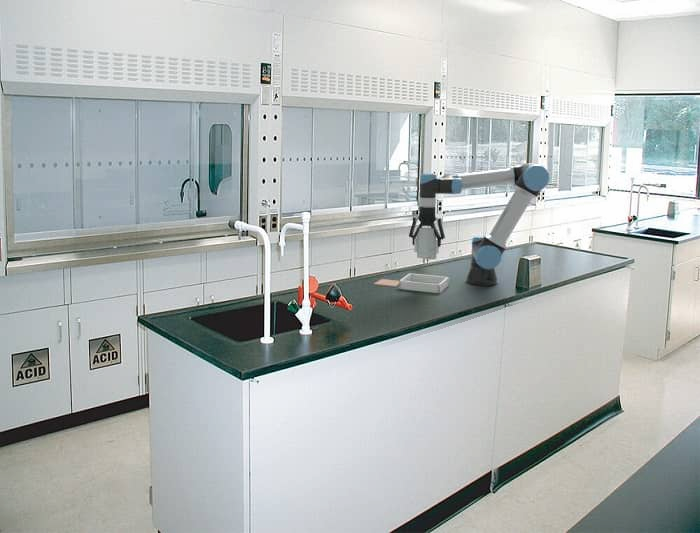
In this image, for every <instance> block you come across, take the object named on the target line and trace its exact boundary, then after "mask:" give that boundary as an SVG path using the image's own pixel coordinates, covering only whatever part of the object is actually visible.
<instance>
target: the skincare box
mask: <svg viewBox="0 0 700 533" xmlns="http://www.w3.org/2000/svg"><path fill="white" fill-rule="evenodd" d="M435 229H437V227H436V228H435ZM416 238H417V252H416V258H418V259H423V260H425V261H426V260H428V261H429V260H435V259H437V254H436V240H437V237H436V235H435V233H434V229H433V228H431V226H422V228H420V229H419V232H418V234H417V236H416Z"/></svg>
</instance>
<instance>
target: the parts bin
mask: <svg viewBox="0 0 700 533" xmlns="http://www.w3.org/2000/svg"><path fill="white" fill-rule="evenodd" d="M398 281H399V285H398V290H405V291H407V290H408V291H415V292H424V293H434V294H441V293H442V292H443V291H444V290H445V289H446V288H448V287H449V286H450V277H449V276H443V275H442V276H440V275H432V274H430V275H429V274H422V273H414V272H413V273H410V272H409V273H408V274H407V275H405V276H404V277H402V278H401V279H399V280H398Z"/></svg>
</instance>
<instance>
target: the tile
mask: <svg viewBox="0 0 700 533" xmlns="http://www.w3.org/2000/svg"><path fill="white" fill-rule="evenodd" d="M373 285H374V286H381V287H390V288H391V287H392V288H397V287H399V280H396V279H386V278H385V279H384V278H381V279H379V280H378V281H376V282H375V283H373Z"/></svg>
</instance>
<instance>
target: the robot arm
mask: <svg viewBox="0 0 700 533" xmlns="http://www.w3.org/2000/svg"><path fill="white" fill-rule="evenodd" d="M419 179H420V180H419V181H420V182H419V209H418V210H419V212H418V214H419V216H413V217H412V223H411V226H410V230H409V233H408V237H409V238H411V239H412V241H411V242H412V246H413V247H414V249H413V251H414V253H417V234H418V232H419V229H420V228H422V227H430V228H433V229H434V233H435V235H436V255H439V248H440V247H442V246H441V245H442V243H441V242H442V240H444V239H445V238H446V235H445V232H444V228H443V224H442V223H443V219H442V218H441V217H440V218H439V217H438V218H437V217H436V204H437V203H436V200H437V198H436V197H437V195H439V194H440V195H444V194H445V195H446V194H447V195H460V194H461V193H462V191H463V190H469V189H479V188H489V187H500V186H509V185H511V186H512V187H514V188H515V189H514V190H515V191H514V192H513V193H512V196H511V197H510V199H509V200H508V202H507V204H506V206H505V208H504V209H503V211H502V212H501V214H500V216H499V217H498V219H497V221H496V223H495V224H494V226H493V227H492V229H491V231H490V233H489V234H487V235H484V236H474V237H472V241H471V256H470V268H469V270H468V273H467V275H466V279H465V280H466V283H468V284H470V285H475V286H483V287H484V286H485V287H486V286H488V287H489V286H495V285H498V277H497V273H496V269H495V268H497V267H498V266H499V265H500V263H501V261H502V256H503V255H504V252H505V251H506V249H507V245H506V243H507V241H508V240H509V238H510V236H511V234H512V233H513V231H514V230H515V228H516V226H517V224H519V221H520V220H521V219H522V216H523V215H524V213H525V211H526V209H527V208H528V206H529V205H530V203H531V201H532V200H533V199H536V198H537V197H538V196H539V194H540V193H541V191H542V190H544V189H545V188H546V187H547V186H548V184H549V180H550V174H549V172H548V169H546V168H545V167H544V166H543V165H541V164H540V163H534V162H528V163H524V164H519V165H518V164H517V165H514V166H510V167H509V168H505V169H496V170H485V171H478V172H477V171H476V172H467V173H458V174H451V175H450V174H445V175H442V176H441V177H437V173H433V172H432V173H431V172H430V173H429V172H424V173H423V172H422V173H421V175H420V178H419ZM436 194H437V195H436ZM418 220H419V222H420V223H419V224H418V226H417V222H418ZM435 222H436V224H437V227H438V229H437V227H436V225H435ZM416 226H417V228H416ZM415 228H416V230H415ZM435 228H436V229H435ZM414 231H415V232H414Z"/></svg>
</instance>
